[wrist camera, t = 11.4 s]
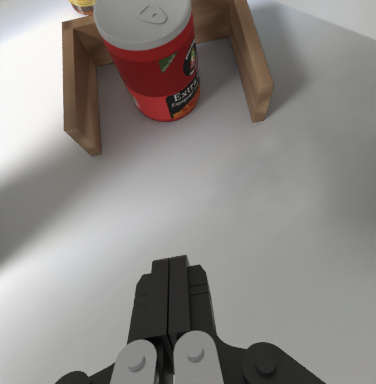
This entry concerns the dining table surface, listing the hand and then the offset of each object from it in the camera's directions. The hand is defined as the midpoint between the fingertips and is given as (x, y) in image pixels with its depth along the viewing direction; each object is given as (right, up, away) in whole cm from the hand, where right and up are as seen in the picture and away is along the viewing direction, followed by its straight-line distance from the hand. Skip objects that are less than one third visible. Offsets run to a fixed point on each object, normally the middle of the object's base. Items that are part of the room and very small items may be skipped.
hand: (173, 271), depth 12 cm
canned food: (-2, +15, +19) cm, 24 cm away
